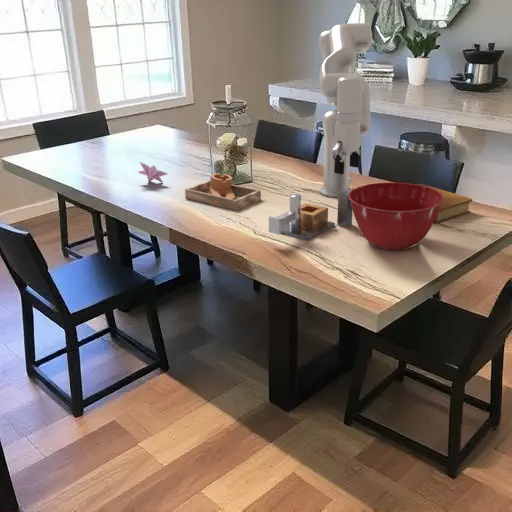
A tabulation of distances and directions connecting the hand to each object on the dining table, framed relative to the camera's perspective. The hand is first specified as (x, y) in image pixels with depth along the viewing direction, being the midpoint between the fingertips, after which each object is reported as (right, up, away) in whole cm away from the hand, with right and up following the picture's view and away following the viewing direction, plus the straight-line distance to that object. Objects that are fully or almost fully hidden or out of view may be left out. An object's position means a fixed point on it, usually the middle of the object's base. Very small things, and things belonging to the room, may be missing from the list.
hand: (346, 170), depth 204 cm
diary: (+32, -12, +20) cm, 39 cm away
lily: (-72, +1, +55) cm, 91 cm away
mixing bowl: (+13, -24, -7) cm, 28 cm away
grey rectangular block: (0, -17, +8) cm, 19 cm away
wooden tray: (-42, -6, +36) cm, 56 cm away
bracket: (-43, -6, +36) cm, 56 cm away
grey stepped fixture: (-16, -20, +2) cm, 26 cm away
